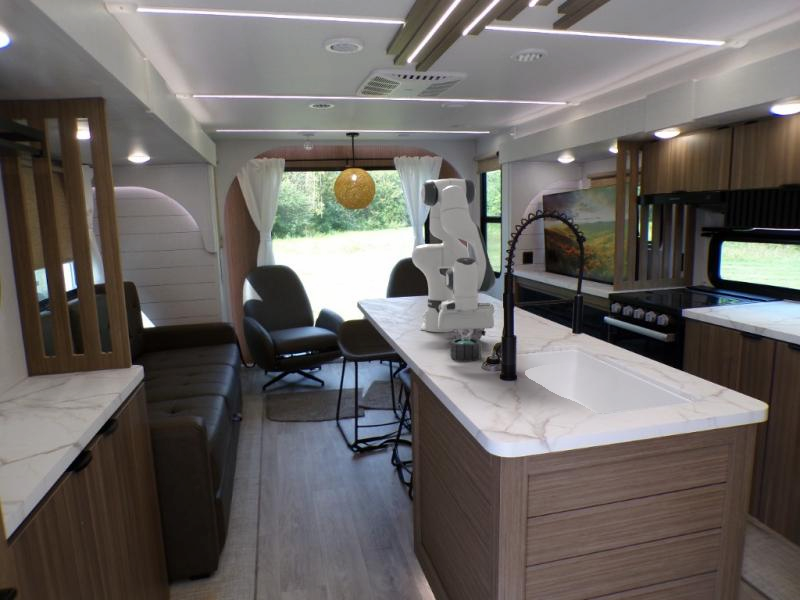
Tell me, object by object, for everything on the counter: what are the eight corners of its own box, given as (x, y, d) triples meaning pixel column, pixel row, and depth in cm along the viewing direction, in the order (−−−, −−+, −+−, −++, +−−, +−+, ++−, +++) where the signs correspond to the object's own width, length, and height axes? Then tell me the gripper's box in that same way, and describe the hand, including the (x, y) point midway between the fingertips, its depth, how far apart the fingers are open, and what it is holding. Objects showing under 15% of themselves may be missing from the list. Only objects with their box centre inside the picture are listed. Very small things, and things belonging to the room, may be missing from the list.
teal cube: (456, 354, 200) (456, 341, 199) (472, 353, 200) (472, 340, 199) (458, 358, 194) (458, 344, 193) (475, 357, 194) (475, 344, 193)
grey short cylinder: (448, 353, 202) (448, 338, 201) (477, 353, 203) (477, 337, 202) (453, 361, 191) (452, 345, 190) (483, 360, 192) (483, 344, 191)
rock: (479, 354, 210) (494, 319, 209) (456, 345, 208) (471, 310, 207) (464, 342, 232) (478, 310, 231) (443, 334, 230) (457, 302, 229)
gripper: (492, 301, 197) (492, 338, 199) (437, 302, 196) (437, 339, 199) (496, 304, 191) (495, 341, 193) (439, 305, 190) (439, 343, 192)
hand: (465, 340), depth 196 cm, fingers closed
